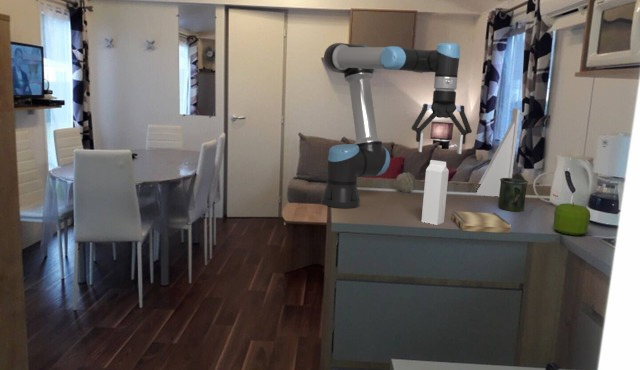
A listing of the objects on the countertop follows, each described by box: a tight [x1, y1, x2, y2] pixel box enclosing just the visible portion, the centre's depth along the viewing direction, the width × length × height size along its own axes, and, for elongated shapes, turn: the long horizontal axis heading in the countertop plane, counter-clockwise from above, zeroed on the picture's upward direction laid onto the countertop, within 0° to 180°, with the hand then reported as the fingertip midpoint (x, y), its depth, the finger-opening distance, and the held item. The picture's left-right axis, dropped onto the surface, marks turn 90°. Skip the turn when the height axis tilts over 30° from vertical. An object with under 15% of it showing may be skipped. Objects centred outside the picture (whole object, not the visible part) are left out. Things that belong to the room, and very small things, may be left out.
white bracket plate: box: [475, 108, 521, 198], centre depth 244 cm, size 20×14×40 cm
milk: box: [421, 159, 450, 226], centre depth 186 cm, size 6×6×22 cm
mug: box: [497, 177, 529, 212], centre depth 214 cm, size 11×15×12 cm
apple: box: [553, 202, 591, 236], centre depth 181 cm, size 11×11×11 cm
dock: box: [450, 210, 512, 234], centre depth 185 cm, size 16×16×3 cm
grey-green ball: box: [393, 172, 416, 193], centre depth 242 cm, size 9×8×10 cm
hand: (439, 152), depth 183 cm, fingers open, 13 cm apart
